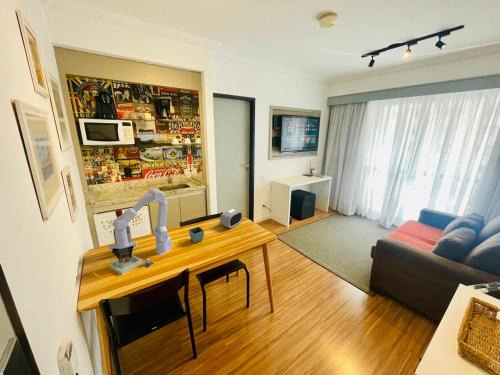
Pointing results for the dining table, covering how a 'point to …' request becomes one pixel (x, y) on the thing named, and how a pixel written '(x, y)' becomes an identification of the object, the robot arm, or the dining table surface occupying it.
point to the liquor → (125, 250)
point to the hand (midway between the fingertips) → (125, 258)
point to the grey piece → (147, 263)
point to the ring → (124, 258)
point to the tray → (125, 265)
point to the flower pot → (196, 234)
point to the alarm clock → (231, 218)
